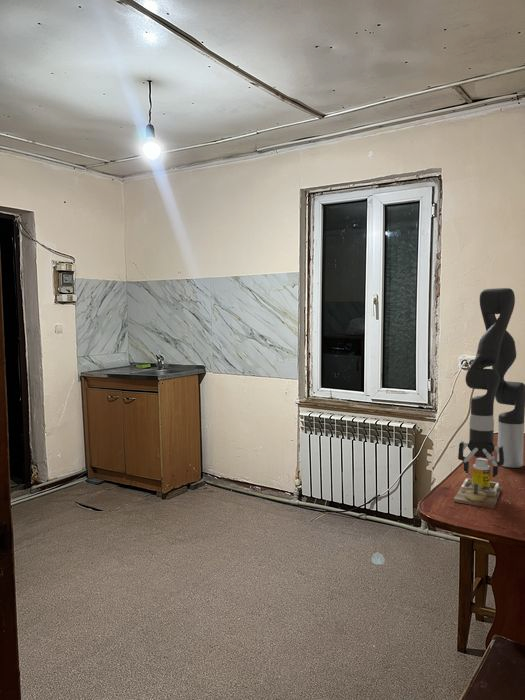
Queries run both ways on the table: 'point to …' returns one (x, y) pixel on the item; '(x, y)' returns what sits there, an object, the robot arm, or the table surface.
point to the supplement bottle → (481, 474)
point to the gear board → (486, 504)
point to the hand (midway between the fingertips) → (480, 474)
